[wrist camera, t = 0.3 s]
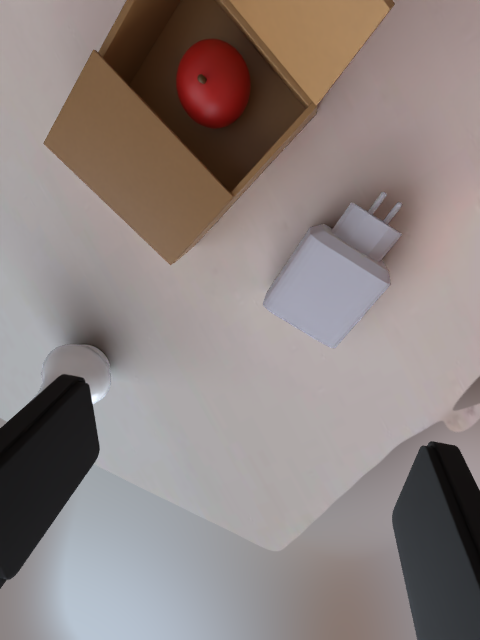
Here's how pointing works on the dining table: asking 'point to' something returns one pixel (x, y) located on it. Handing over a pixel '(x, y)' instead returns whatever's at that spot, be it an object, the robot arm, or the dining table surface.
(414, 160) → the dining table surface
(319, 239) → the charger
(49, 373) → the flower vase
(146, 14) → the cardboard box
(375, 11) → the flap
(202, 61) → the apple
